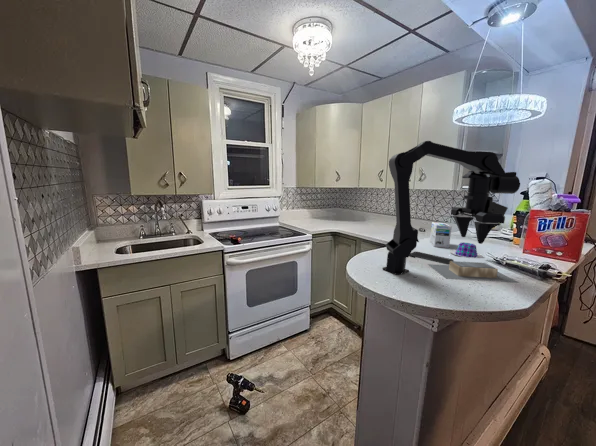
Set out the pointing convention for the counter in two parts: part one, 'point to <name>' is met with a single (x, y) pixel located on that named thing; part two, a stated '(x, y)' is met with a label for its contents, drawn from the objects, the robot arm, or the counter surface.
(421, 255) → the phone
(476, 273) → the maple block
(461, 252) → the purple checkered dome
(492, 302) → the counter surface
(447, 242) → the light bulb box
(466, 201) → the robot arm
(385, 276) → the counter surface
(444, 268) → the rubber mat
